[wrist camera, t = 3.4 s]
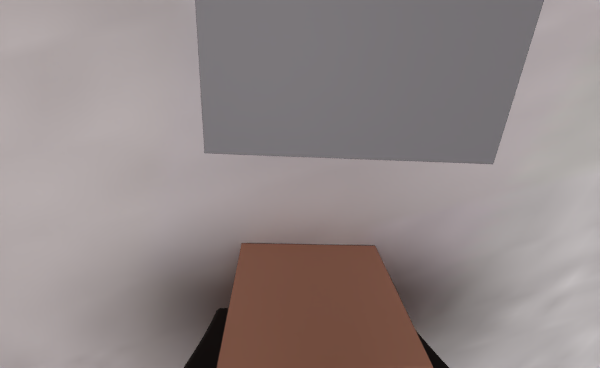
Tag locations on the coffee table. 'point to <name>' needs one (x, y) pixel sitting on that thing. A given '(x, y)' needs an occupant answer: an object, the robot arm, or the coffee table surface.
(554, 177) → the coffee table surface
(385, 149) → the charcoal grey cube
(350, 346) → the terracotta cube
